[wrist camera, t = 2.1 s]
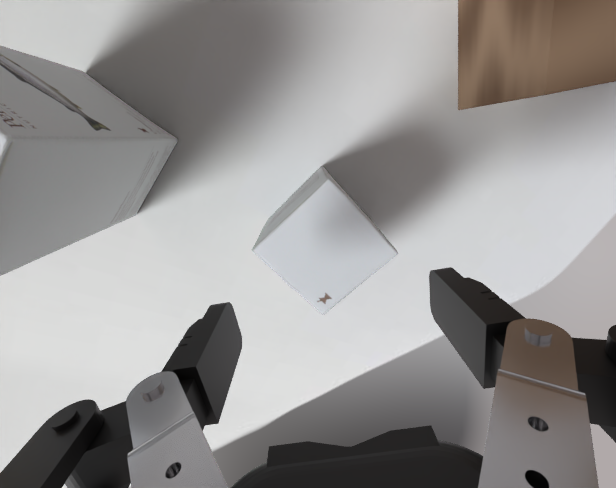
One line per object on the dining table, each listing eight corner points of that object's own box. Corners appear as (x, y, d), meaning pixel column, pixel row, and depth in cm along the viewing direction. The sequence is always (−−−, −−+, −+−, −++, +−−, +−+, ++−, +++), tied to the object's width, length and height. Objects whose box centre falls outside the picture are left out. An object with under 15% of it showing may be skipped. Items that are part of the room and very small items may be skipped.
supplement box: (182, 139, 21) (17, 140, 9) (136, 217, 23) (-49, 305, 11) (84, 66, 19) (-281, -50, 7) (43, 158, 21) (-294, 184, 9)
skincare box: (373, 220, 23) (402, 255, 16) (317, 268, 24) (322, 319, 18) (321, 163, 21) (329, 175, 14) (265, 217, 23) (248, 252, 16)
